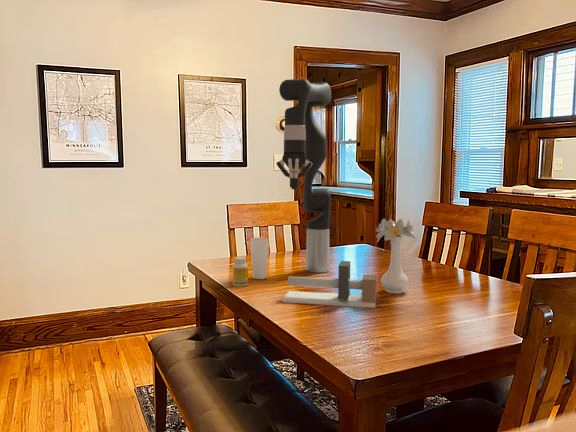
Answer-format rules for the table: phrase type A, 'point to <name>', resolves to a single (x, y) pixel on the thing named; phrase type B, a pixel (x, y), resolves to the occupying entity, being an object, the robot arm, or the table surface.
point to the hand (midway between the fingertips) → (294, 189)
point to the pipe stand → (330, 298)
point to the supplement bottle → (240, 272)
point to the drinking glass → (259, 257)
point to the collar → (343, 280)
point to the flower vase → (394, 254)
